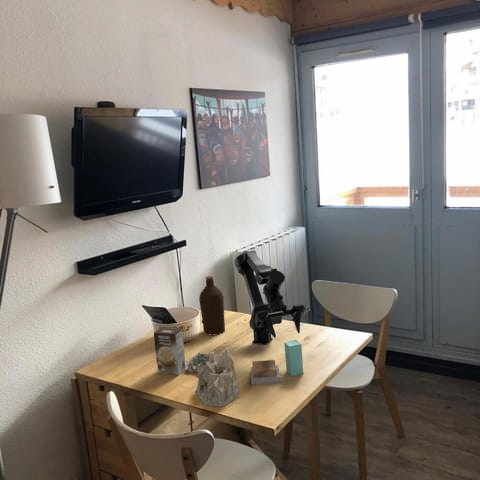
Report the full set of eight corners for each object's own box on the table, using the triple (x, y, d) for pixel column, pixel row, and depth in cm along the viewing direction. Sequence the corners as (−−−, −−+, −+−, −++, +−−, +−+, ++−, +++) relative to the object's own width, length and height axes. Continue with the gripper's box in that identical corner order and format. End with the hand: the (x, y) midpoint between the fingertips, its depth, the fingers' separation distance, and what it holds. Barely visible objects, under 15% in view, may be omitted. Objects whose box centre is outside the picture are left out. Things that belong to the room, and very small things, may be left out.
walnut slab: (253, 377, 181) (252, 371, 180) (252, 368, 189) (252, 361, 188) (276, 376, 181) (276, 369, 180) (275, 366, 189) (274, 359, 188)
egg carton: (201, 375, 192) (200, 364, 191) (184, 372, 195) (183, 361, 194) (216, 362, 201) (215, 352, 200) (199, 360, 204) (198, 350, 204)
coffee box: (157, 373, 195) (152, 332, 192) (165, 366, 201) (160, 326, 198) (179, 375, 192) (174, 333, 189) (186, 368, 198) (182, 327, 195)
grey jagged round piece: (208, 379, 187) (203, 340, 183) (248, 388, 179) (245, 348, 175) (182, 402, 174) (177, 360, 170) (225, 413, 166) (220, 370, 162)
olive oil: (231, 328, 235) (226, 274, 231) (217, 337, 226) (212, 280, 222) (211, 326, 241) (206, 273, 236) (197, 334, 232) (192, 279, 227)
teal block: (286, 371, 188) (284, 342, 186) (298, 368, 189) (296, 339, 187) (291, 376, 184) (289, 346, 182) (303, 373, 185) (301, 344, 183)
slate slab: (251, 386, 180) (251, 379, 180) (251, 373, 190) (250, 367, 190) (280, 384, 180) (280, 377, 180) (278, 371, 190) (278, 365, 189)
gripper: (291, 304, 206) (305, 340, 198) (246, 312, 201) (258, 349, 192) (298, 289, 198) (313, 326, 189) (251, 297, 192) (264, 336, 184)
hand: (287, 335), depth 189 cm, fingers open, 9 cm apart
